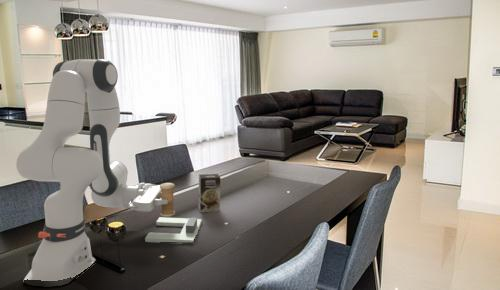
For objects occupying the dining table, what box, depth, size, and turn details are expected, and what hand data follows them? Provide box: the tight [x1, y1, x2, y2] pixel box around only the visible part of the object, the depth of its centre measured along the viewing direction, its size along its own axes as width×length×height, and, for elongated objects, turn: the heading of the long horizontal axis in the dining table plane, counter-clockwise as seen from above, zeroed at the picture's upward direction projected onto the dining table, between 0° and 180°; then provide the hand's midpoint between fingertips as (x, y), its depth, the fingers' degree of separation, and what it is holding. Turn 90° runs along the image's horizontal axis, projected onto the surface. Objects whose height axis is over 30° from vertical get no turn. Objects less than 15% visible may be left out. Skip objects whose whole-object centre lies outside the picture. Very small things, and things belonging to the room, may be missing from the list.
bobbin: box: [159, 182, 176, 218], centre depth 154 cm, size 6×6×12 cm
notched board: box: [144, 216, 203, 243], centre depth 156 cm, size 20×18×4 cm
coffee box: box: [197, 173, 221, 213], centre depth 179 cm, size 9×6×16 cm
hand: (169, 198), depth 154 cm, fingers closed on bobbin, 5 cm apart
